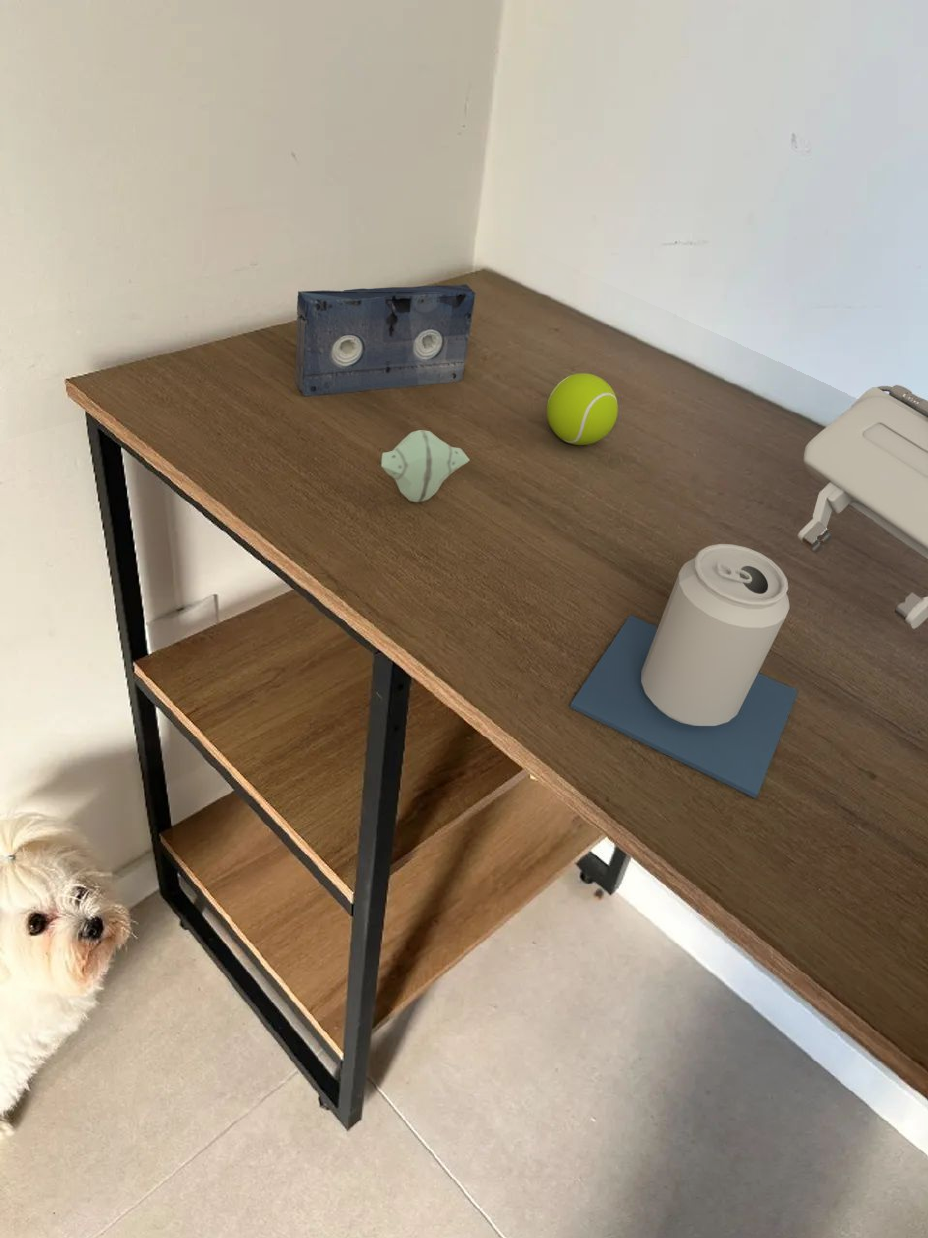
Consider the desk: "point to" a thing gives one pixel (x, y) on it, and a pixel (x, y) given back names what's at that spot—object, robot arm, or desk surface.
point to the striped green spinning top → (422, 464)
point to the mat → (713, 750)
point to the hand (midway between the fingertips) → (852, 581)
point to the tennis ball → (582, 409)
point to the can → (715, 634)
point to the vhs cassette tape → (381, 338)
